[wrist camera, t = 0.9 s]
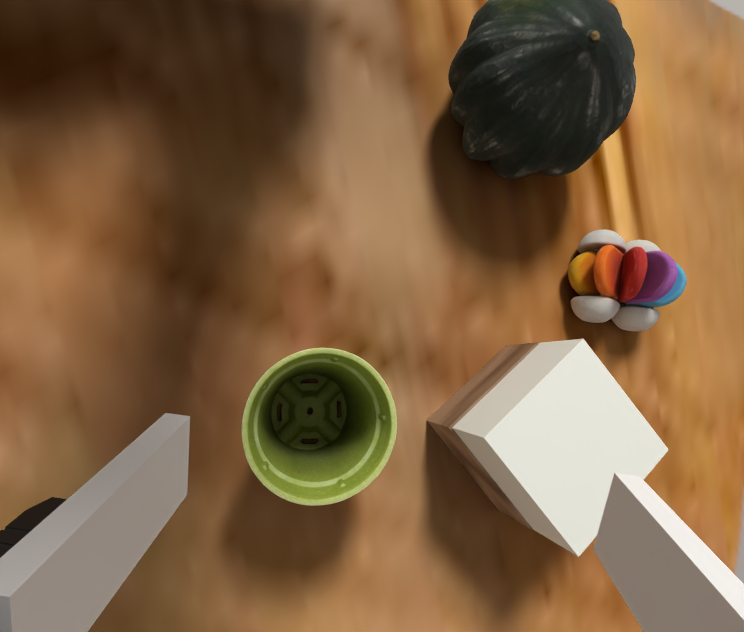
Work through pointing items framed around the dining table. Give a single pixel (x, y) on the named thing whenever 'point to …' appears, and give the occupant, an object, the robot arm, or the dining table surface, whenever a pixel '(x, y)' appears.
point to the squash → (541, 84)
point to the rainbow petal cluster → (622, 281)
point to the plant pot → (319, 427)
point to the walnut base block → (462, 405)
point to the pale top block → (560, 440)
